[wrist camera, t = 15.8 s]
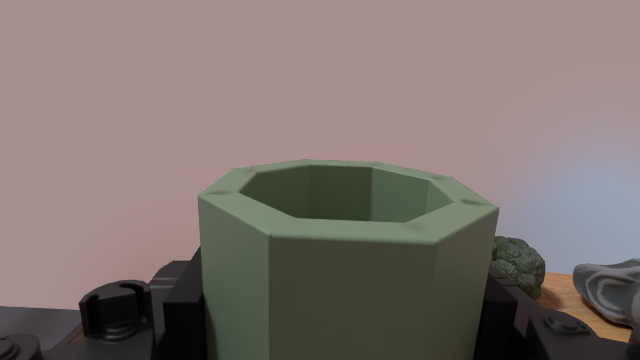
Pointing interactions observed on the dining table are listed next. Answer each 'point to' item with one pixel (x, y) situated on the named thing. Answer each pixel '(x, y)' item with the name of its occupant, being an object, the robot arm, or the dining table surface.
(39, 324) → the stand
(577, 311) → the dining table surface
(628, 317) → the grey swirled rock
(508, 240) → the vegetable
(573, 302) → the dining table surface
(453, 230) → the green octagonal tube
